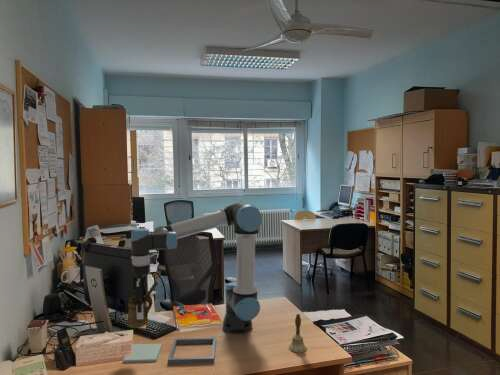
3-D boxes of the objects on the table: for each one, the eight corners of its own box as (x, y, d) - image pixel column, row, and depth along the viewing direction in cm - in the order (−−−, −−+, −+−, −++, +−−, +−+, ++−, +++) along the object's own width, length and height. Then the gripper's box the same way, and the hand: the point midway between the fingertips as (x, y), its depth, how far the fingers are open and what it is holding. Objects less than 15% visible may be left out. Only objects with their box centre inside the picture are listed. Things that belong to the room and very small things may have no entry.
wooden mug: (158, 325, 169) (157, 285, 168) (125, 328, 166) (124, 287, 165) (158, 317, 178) (157, 279, 176) (127, 320, 175) (126, 281, 174)
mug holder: (216, 341, 184) (215, 337, 184) (214, 362, 165) (213, 358, 164) (174, 342, 183) (174, 338, 183) (167, 364, 164) (167, 359, 164)
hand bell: (308, 345, 179) (308, 311, 178) (304, 354, 172) (304, 318, 170) (290, 343, 182) (290, 309, 181) (286, 351, 174) (286, 316, 173)
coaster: (162, 345, 180) (162, 343, 180) (156, 361, 166) (156, 359, 166) (131, 346, 180) (131, 344, 179) (123, 362, 166) (122, 360, 166)
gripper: (137, 258, 180) (139, 307, 181) (126, 270, 160) (127, 325, 162) (154, 258, 180) (155, 306, 182) (144, 270, 160) (145, 324, 162)
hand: (142, 315), depth 172 cm, fingers closed on wooden mug, 7 cm apart
